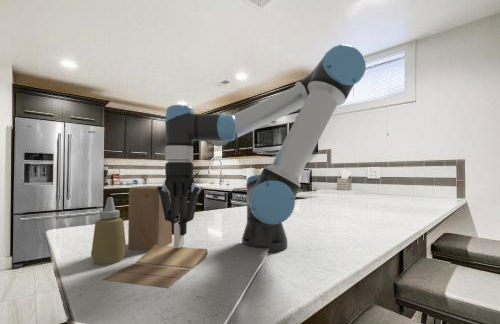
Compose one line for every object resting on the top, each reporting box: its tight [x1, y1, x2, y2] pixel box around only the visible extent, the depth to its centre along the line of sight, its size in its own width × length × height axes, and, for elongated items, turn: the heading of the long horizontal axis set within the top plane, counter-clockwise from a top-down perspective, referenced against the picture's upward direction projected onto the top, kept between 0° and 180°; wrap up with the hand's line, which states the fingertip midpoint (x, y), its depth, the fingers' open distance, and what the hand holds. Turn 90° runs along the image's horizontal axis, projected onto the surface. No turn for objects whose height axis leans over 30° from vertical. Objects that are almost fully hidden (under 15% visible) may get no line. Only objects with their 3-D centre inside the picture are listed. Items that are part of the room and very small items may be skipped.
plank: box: [134, 245, 209, 270], centre depth 68 cm, size 16×9×2 cm, turn 75°
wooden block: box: [127, 185, 173, 251], centre depth 82 cm, size 10×10×20 cm
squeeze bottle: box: [90, 196, 127, 266], centre depth 68 cm, size 8×8×18 cm
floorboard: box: [102, 263, 192, 289], centre depth 58 cm, size 16×10×2 cm, turn 76°
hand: (178, 246), depth 72 cm, fingers closed
